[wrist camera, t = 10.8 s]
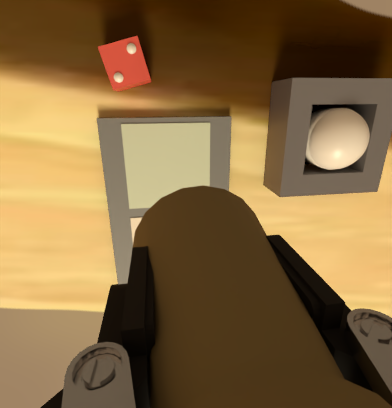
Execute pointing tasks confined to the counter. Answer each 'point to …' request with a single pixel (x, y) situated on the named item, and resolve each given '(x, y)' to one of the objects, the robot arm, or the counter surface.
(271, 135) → the gray square holder
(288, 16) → the counter surface
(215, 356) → the brown pepper mill
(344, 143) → the cream white ball
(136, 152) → the game board
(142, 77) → the red die
